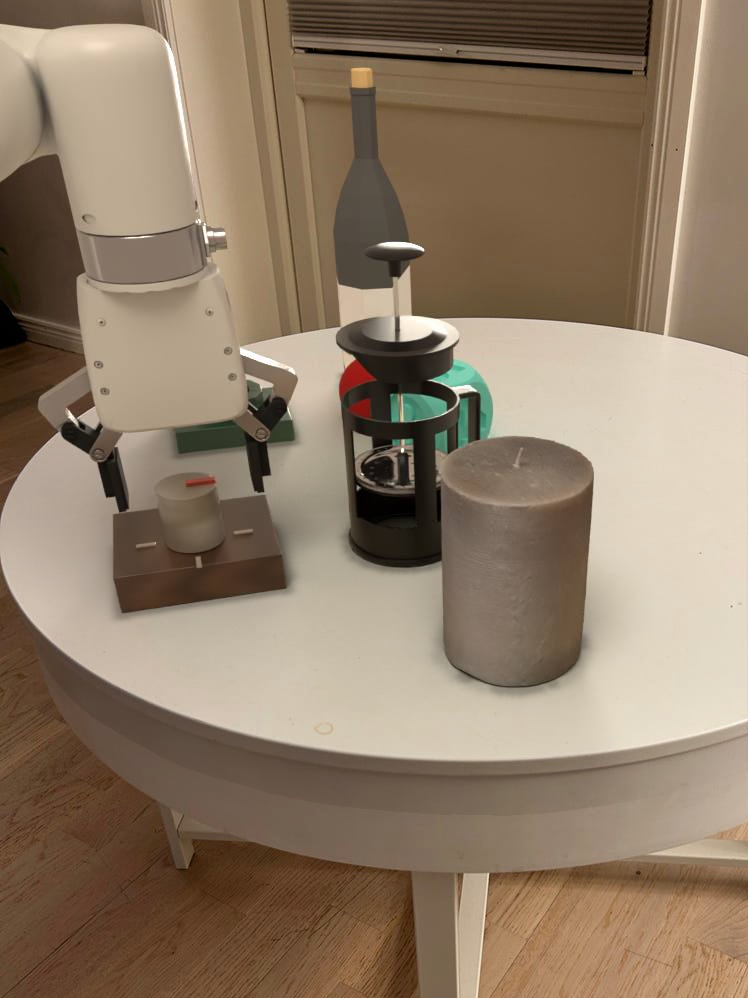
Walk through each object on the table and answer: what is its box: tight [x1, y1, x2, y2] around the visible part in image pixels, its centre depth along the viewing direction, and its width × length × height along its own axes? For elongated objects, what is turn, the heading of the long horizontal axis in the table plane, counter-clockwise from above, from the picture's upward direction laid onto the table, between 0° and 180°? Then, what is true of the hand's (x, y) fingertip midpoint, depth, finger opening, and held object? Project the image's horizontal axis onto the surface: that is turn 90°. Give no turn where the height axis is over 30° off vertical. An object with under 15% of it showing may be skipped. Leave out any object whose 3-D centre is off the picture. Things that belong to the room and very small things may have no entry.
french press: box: [335, 242, 481, 568], centre depth 75 cm, size 12×9×23 cm
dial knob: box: [154, 471, 225, 553], centre depth 74 cm, size 4×4×5 cm
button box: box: [174, 379, 295, 455], centre depth 98 cm, size 11×9×4 cm
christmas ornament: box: [338, 359, 376, 419], centre depth 97 cm, size 7×7×10 cm
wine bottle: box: [332, 67, 413, 371], centre depth 102 cm, size 8×8×30 cm
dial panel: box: [112, 494, 287, 613], centre depth 77 cm, size 12×10×3 cm
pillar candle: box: [438, 435, 595, 687], centre depth 65 cm, size 10×10×15 cm
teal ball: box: [390, 358, 494, 453], centre depth 93 cm, size 8×8×8 cm
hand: (191, 494), depth 73 cm, fingers open, 9 cm apart
